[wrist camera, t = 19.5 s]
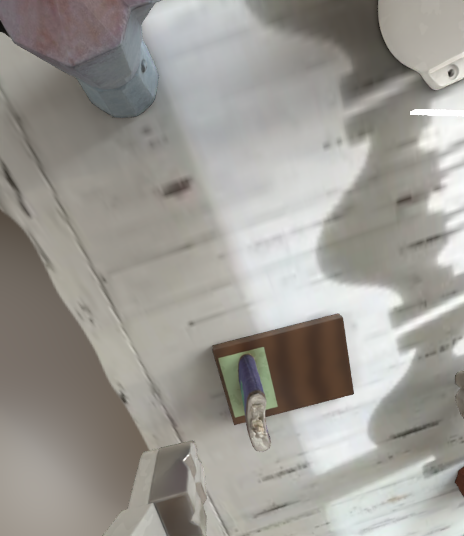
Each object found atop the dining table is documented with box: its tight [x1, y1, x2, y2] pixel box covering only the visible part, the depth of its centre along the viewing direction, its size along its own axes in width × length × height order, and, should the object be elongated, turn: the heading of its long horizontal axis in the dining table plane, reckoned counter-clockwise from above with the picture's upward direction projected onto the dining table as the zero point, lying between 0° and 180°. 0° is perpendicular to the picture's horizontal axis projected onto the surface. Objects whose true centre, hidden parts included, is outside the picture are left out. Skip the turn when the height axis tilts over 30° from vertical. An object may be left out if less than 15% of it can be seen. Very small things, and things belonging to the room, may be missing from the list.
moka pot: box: [0, 0, 161, 118], centre depth 25 cm, size 10×15×20 cm, turn 95°
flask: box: [238, 353, 271, 452], centre depth 40 cm, size 9×3×11 cm, turn 7°
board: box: [213, 314, 354, 425], centre depth 46 cm, size 20×14×2 cm
